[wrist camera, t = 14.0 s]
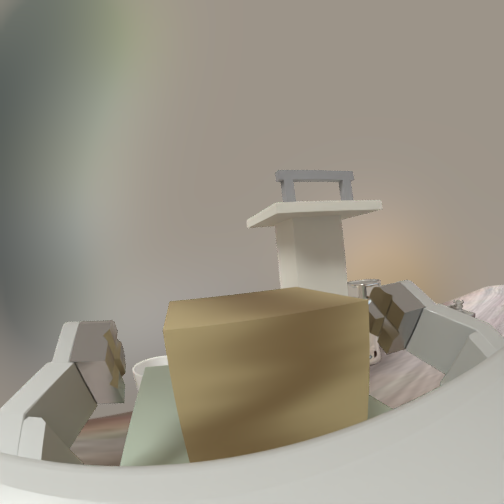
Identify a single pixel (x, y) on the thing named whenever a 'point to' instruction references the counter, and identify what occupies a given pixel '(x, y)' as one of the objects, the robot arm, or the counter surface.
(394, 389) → the counter surface
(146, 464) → the sage pedestal
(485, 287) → the counter surface
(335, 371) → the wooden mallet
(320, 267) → the tall stand
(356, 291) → the beer glass
